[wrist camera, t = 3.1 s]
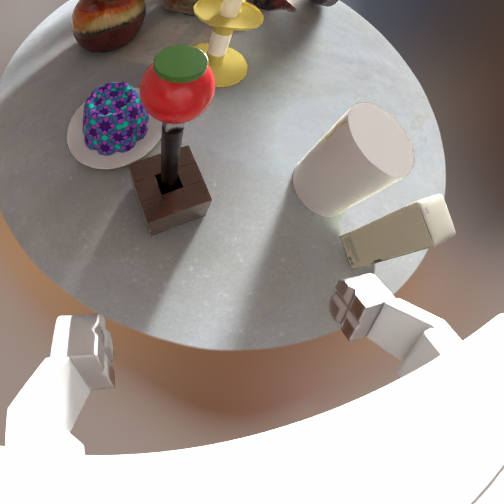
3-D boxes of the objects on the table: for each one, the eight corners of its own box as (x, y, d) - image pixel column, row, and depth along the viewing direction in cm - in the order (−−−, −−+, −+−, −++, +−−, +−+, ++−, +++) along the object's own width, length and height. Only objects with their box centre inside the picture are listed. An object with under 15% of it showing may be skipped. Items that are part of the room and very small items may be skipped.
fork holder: (205, 215, 29) (212, 199, 25) (150, 236, 27) (147, 223, 23) (185, 166, 30) (189, 144, 25) (132, 184, 28) (127, 164, 23)
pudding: (88, 192, 26) (75, 170, 21) (57, 118, 26) (46, 92, 21) (184, 141, 30) (188, 113, 25) (141, 78, 30) (141, 49, 25)
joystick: (192, 210, 29) (235, 79, 11) (156, 223, 28) (149, 97, 10) (179, 177, 29) (207, 33, 12) (144, 189, 28) (132, 45, 10)
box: (350, 270, 33) (432, 249, 21) (337, 235, 33) (415, 200, 21) (379, 257, 35) (458, 234, 23) (368, 225, 35) (443, 191, 23)
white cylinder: (337, 155, 36) (393, 107, 25) (357, 211, 35) (425, 176, 24) (284, 157, 33) (335, 98, 22) (304, 220, 32) (369, 179, 21)
